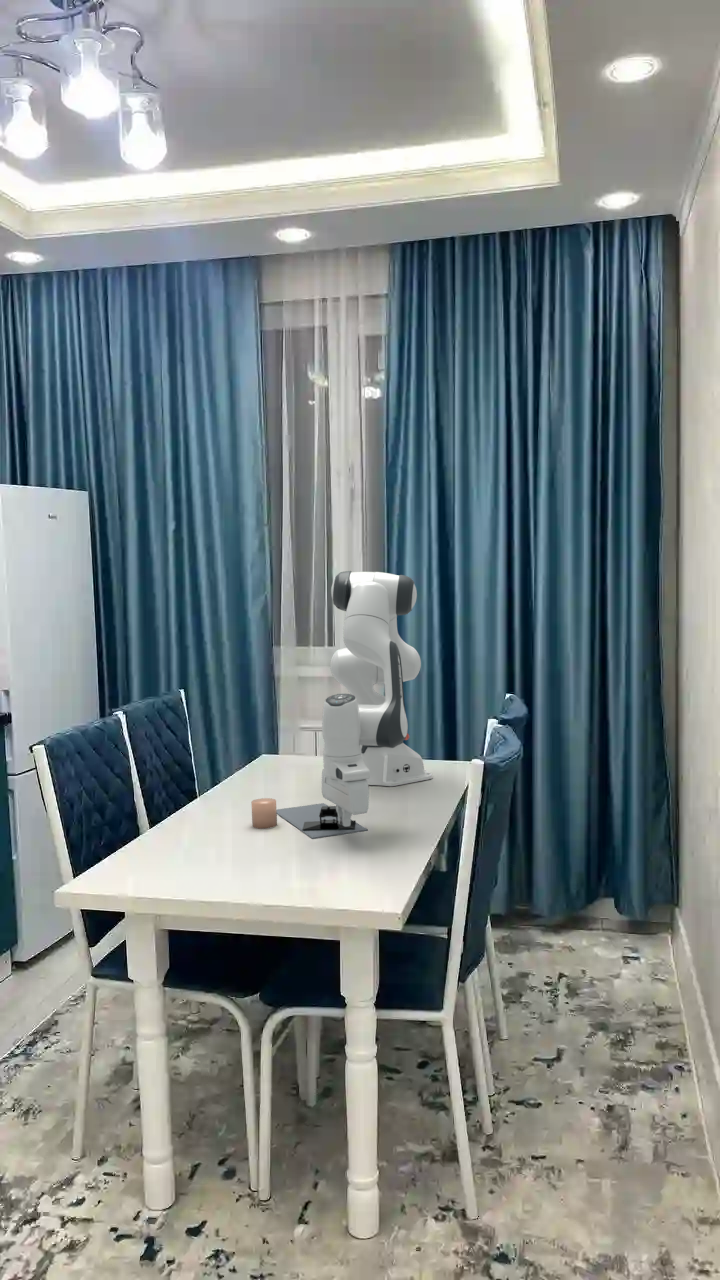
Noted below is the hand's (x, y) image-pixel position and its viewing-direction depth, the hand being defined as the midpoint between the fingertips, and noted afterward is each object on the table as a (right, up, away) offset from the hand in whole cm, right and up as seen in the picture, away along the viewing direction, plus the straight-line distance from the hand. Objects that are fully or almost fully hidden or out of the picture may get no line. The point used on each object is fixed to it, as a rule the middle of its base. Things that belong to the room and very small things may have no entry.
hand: (344, 824), depth 231 cm
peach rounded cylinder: (-20, -3, +13) cm, 24 cm away
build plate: (-4, -2, +9) cm, 10 cm away
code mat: (-7, -2, +16) cm, 18 cm away
